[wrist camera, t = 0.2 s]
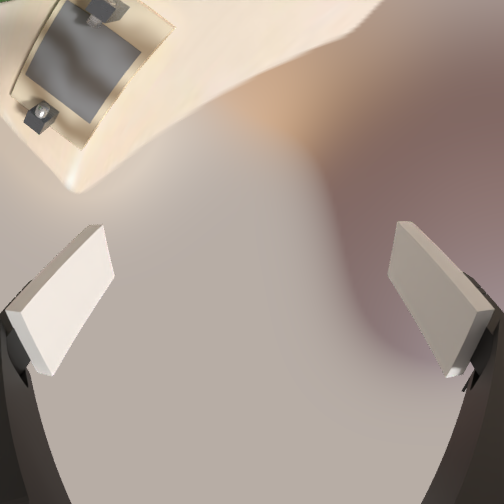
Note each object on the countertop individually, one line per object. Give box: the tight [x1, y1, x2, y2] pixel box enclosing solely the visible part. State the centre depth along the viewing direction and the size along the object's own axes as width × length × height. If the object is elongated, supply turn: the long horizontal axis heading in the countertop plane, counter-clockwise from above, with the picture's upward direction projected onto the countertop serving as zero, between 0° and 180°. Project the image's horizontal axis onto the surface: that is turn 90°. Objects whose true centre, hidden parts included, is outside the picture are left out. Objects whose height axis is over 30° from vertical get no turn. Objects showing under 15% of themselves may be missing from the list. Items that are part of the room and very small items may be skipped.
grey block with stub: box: [85, 0, 130, 28], centre depth 24 cm, size 3×3×4 cm
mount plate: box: [11, 0, 176, 150], centre depth 29 cm, size 21×15×1 cm
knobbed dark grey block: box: [24, 100, 59, 135], centre depth 32 cm, size 3×3×4 cm
